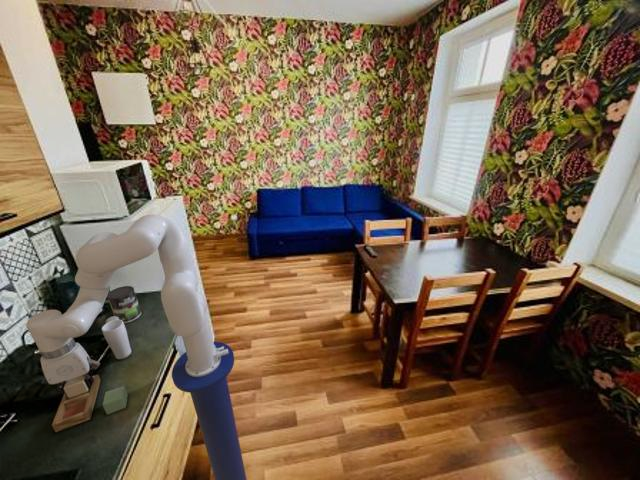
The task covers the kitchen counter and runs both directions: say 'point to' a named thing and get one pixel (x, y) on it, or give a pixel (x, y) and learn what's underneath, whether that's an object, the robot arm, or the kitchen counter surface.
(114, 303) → the coffee can
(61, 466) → the kitchen counter surface
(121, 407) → the sage pad
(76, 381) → the cream pad
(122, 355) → the drinking glass
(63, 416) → the pad frame
